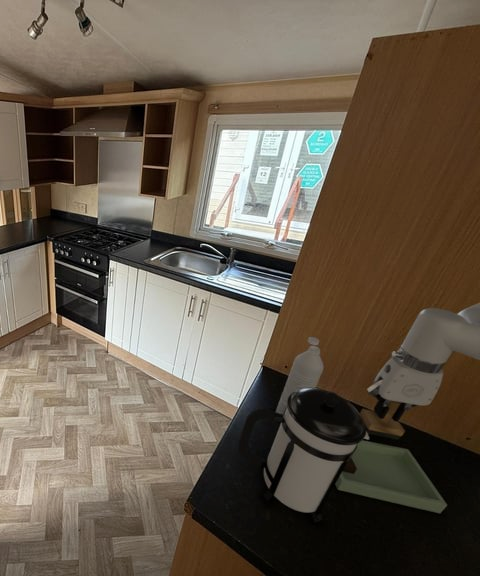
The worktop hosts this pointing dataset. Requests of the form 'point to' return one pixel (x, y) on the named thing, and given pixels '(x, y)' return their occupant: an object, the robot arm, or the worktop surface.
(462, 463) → the worktop surface
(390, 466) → the tray
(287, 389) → the water bottle
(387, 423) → the brush
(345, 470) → the brown square block
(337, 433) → the coffee press
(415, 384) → the robot arm
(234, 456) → the worktop surface
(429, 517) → the worktop surface
